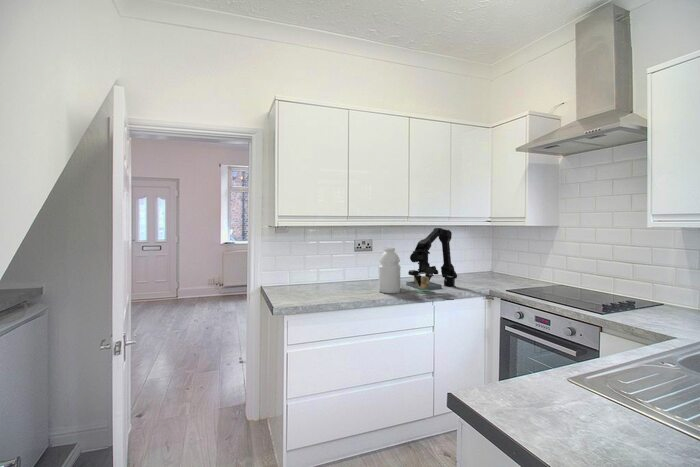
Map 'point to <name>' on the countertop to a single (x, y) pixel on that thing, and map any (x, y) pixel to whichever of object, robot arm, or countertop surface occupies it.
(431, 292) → the green pad
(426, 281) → the oak block
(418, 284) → the robot arm
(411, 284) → the grey square slab
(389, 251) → the bottle
